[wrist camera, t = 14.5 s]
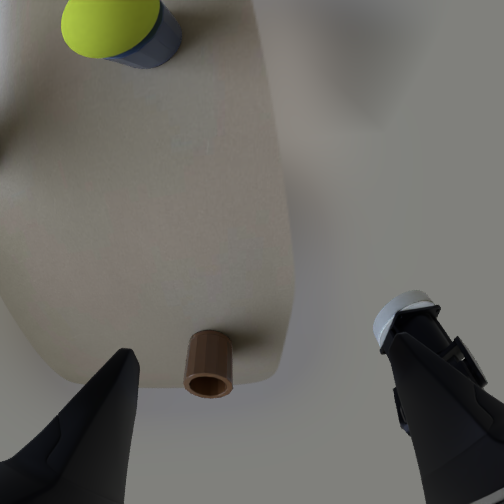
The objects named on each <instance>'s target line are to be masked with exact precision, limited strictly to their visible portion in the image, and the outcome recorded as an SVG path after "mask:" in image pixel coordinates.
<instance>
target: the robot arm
mask: <svg viewBox="0 0 504 504" xmlns="http://www.w3.org/2000/svg"><path fill="white" fill-rule="evenodd" d="M440 310H441V307H440V306H439V305H434V306H428V307H422V308H416V309H410V310H404V311H399V312H397V313H396V314H395V316H394V318H393V321H392V323H391V326H390V328H389V330H388V333H387V335H386V337H385V340H384V342H383V344H382V346H381V349H380V353H381V354H387V356H388V358H389V361H390V363H391V366H392V371H393V375H394V380H395V384H396V387H395V388H394V389H393V391H394V398H395V403H396V408H397V412H398V417H399V422H400V426H401V428H402V429H404V430H405V431H406V433H407V434H408V435H409V436H411V439H412V442H413V446H414V450H415V453H416V458H417V462H418V466H419V470H420V475H421V480H422V485H423V490H424V495H425V500H426V504H504V404H503V403H502V402H500V401H499V400H497V399H496V398H494V397H493V396H491V395H490V394H488V393H487V392H486V391H485V390H484V388H483V387H484V386H485V385H487V383H488V382H487V380H486V378H485V376H484V374H483V372H482V371H481V369H480V367H479V365H478V363H477V361H476V360H475V358H474V357H473V356H472V354H471V352H470V351H469V349H468V348H467V347H466V345H465V344H464V343H463V342H462V340H461V339H460V338H459V337H458V336H457V337H456V338H455V339H454V341H453V342H452V341H451V339H450V338H449V336H448V335H447V333H446V332H445V330H444V329H443V327H442V326H441V325H440V323H439V322H438V321H437V319H436V318H437V316H438V314H439V312H440ZM464 357H465V359H464V360H461V359H463V358H464ZM139 374H140V365H139V362H138V360H137V358H136V356H135V354H134V352H133V350H132V349H128V348H121V349H119V350H118V351H117V352H116V353H115V354H114V355H113V356H112V357H111V358H110V359H109V360H108V361H107V362H106V363H105V365H104V366H103V367H102V368H101V369H100V370H99V371H98V372H97V373H96V374H95V375H94V376H93V377H92V378H91V379H90V380H89V381H88V382H87V383H86V384H85V386H84V387H83V388H82V389H81V390H80V391H79V392H78V393H77V394H76V395H75V396H74V397H73V398H72V399H71V400H70V402H69V403H68V404H67V405H66V406H65V407H64V408H63V409H62V410H61V411H60V412H59V414H58V415H57V416H56V417H55V418H54V419H53V420H52V421H51V422H50V423H49V424H48V425H47V426H46V427H45V428H44V429H43V430H42V431H41V432H40V433H39V434H38V435H37V436H36V437H35V438H34V439H33V440H32V441H30V442H29V443H28V444H27V445H26V446H25V447H24V448H22V449H21V450H20V451H19V452H18V453H17V454H16V455H14V456H13V457H12V458H10V459H8V460H5V461H2V462H0V504H124V495H125V485H126V476H127V468H128V460H129V453H130V446H131V439H132V433H133V427H134V421H135V416H136V409H137V398H138V385H139Z"/></svg>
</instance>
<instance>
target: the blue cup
mask: <svg viewBox="0 0 504 504" xmlns="http://www.w3.org/2000/svg"><path fill="white" fill-rule="evenodd" d="M181 40H182V30H181V27H180V25H179V23H178V22H177V20H176V19H175V17H174V16H173V15H172V13H171V12H170V11H169V9H168V8H167V7H166V5H165V4H164V3H163V1H162V0H160V9H159V14H158V17H157V20H156V22H155V24H154V26H153V28H152V29H151V31H150V32H149V33H148V35H147V36H146V37H145V38H144V39H143V40H142V41H141V42H139V43H138V44H137V45H136V46H134V47H133V48H131V49H129V50H128V51H126V52H123V53H121V54H119V55H115V56H112V57H107V58H103V59H106V60H110V61H113V62H117V63H120V64H124V65H127V66H130V67H133V68H139V69H150V68H154V67H157V66H160V65H162V64H163V63H165V62H167V61H168V60H169V59H170V58H171V57H172V56H173V55H174V54H175V53H176V52H177V50H178V48H179V46H180V44H181Z"/></svg>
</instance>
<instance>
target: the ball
mask: <svg viewBox="0 0 504 504" xmlns="http://www.w3.org/2000/svg"><path fill="white" fill-rule="evenodd" d="M159 9H160V0H69V2H68V3H67V5H66V7H65V10H64V12H63V15H62V20H61V31H62V35H63V38H64V40H65V42H66V43H67V45H68V46H69V47H70V48H71V49H72V50H73V51H74V52H76V53H78V54H80V55H83V56H85V57H90V58H107V57H112V56H115V55H119V54H121V53H123V52H126V51H128V50H129V49H131V48H133V47H134V46H136V45H137V44H138V43H139V42H141V41H142V40H143V39H144V38H145V37H146V36H147V35H148V33H149V32H150V31H151V29H152V28H153V26H154V24H155V22H156V20H157V17H158V14H159Z"/></svg>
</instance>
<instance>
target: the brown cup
mask: <svg viewBox="0 0 504 504" xmlns="http://www.w3.org/2000/svg"><path fill="white" fill-rule="evenodd" d="M183 384H184V387H185V389H186V390H187V391H189V392H190V393H191V394H193V395H196V396H199V397H202V398H220V397H223V396H225V395H228V394H229V393H230V392H231V391H232V389H233V355H232V342H231V340H230V339H229V338H228V337H227V336H226V335H225V334H223V333H220V332H217V331H212V330H205V331H200V332H197V333H195V334H194V335H193V336H192V337H191V338H190V341H189V345H188V351H187V358H186V366H185V373H184V381H183Z"/></svg>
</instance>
